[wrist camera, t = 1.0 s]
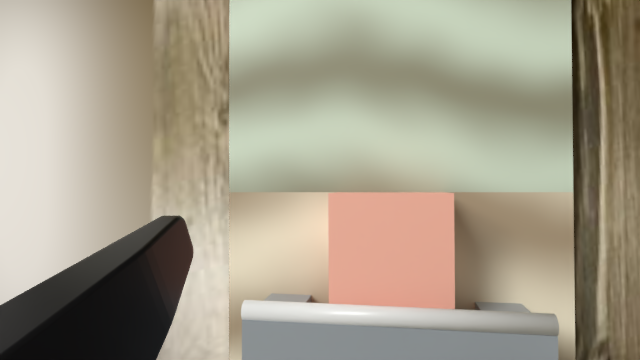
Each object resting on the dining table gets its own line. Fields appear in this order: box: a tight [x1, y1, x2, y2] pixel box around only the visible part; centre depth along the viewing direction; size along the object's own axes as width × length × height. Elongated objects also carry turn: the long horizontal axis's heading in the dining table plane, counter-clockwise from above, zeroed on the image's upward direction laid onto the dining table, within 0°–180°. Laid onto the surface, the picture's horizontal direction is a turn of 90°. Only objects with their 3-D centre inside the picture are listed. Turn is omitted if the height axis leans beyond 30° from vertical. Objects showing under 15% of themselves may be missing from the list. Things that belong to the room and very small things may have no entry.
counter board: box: [229, 0, 575, 360], centre depth 20 cm, size 24×16×1 cm, turn 0°
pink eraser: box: [328, 192, 455, 309], centre depth 18 cm, size 10×5×3 cm, turn 0°
